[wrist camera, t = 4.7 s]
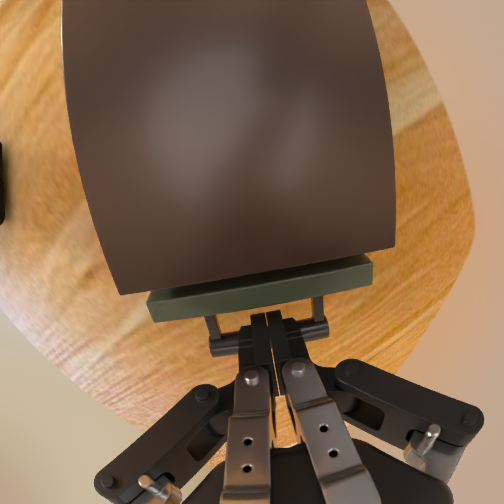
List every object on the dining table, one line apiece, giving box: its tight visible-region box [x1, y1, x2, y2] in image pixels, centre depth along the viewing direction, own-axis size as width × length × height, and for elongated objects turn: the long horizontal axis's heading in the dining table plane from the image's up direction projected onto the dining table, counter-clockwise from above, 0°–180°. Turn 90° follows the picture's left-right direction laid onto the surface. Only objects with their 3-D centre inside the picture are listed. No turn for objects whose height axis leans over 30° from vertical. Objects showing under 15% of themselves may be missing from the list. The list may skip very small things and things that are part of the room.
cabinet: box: [61, 0, 396, 295], centre depth 12 cm, size 15×12×9 cm
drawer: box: [146, 253, 373, 357], centre depth 14 cm, size 18×10×7 cm, turn 9°
